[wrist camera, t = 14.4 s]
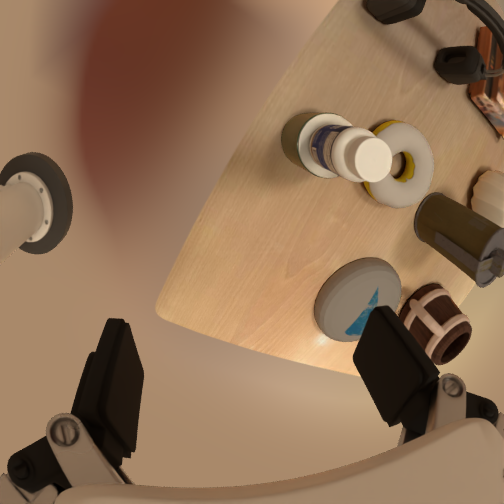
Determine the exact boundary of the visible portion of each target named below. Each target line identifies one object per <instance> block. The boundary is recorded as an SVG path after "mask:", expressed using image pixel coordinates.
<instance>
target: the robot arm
mask: <svg viewBox="0 0 504 504" xmlns="http://www.w3.org/2000/svg"><path fill="white" fill-rule="evenodd" d="M53 215H54V212H53V202H52V198H51V194H50V192H49V190H48V188H47V186H46V184H45V183H44V182H43V180H42V179H41V178H40V177H38V176H37V175H36V174H34V173H31V172H26V171H25V172H20V173H17V174H15V175H13V176H12V177H11V178H10V179H9V180H8V181H7V183H6V185H5V186H2V185H0V265H1V264H2V263H3V262H4V261H5V260H6V259H7V258H8V257H9V256H10V255H11V254H12V253H13V252H14V251H15V250H16V249H18V248H19V247H20V246H21V245H22V244H23V243H24V242H25V241H26V242H35V241H38V240H40V239H42V238H43V237H44V236H45V235H46V234H47V233H48V231H49V229H50V227H51V225H52V221H53ZM353 362H354V364H355V366H356V368H357V370H358V372H359V374H360V375H361V377H362V379H363V381H364V383H365V385H366V387H367V389H368V391H369V392H370V395H371V397H372V399H373V400H374V403H375V405H376V407H377V409H378V411H379V413H380V415H381V417H382V419H383V420H384V421H385V422H387V423H388V425H389V427H391V426H394V425H397V424H399V423H400V422H401V423H402V425H403V428H402V432H401V435H400V439H399V443H398V446H397V447H396V448H394V449H391V450H389V451H386V452H384V453H381V454H379V455H376V456H373V457H370V458H368V459H365V460H362V461H359V462H356V463H353V464H350V465H347V466H343V467H340V468H336V469H333V470H329V471H325V472H321V473H317V474H313V475H308V476H304V477H299V478H294V479H289V480H283V481H277V482H271V483H263V484H255V485H246V486H234V487H213V488H177V487H175V488H174V487H158V486H144V485H135V484H134V483H133V481H132V480H131V479H130V478H129V476H128V475H127V474H126V473H125V471H124V470H123V469H122V468H121V465H122V458H123V457H125V458H131V452H135V450H136V440H137V430H138V419H139V411H140V403H141V395H142V388H143V380H144V370H143V367H142V364H141V361H140V358H139V355H138V352H137V348H136V346H135V342H134V339H133V335H132V332H131V328H130V325H129V323H125V321H124V319H115V318H109V319H108V320H107V322H106V324H105V327H104V330H103V332H102V335H101V338H100V340H99V343H98V346H97V349H96V352H91V353H90V354H89V356H88V358H87V361H86V364H85V367H84V370H83V373H82V376H81V379H80V383H79V386H78V389H77V392H76V396H75V399H74V403H73V407H72V410H71V414H69V413H61V414H58V415H55V416H54V417H53V418H51V420H50V421H49V422H48V424H47V427H46V436H45V437H43V438H41V439H40V440H38V441H36V442H34V443H33V444H31V445H29V446H27V447H26V448H24V449H22V450H20V451H18V452H16V453H14V454H13V455H12V456H11V457H10V459H9V460H8V465H7V468H8V473H7V474H4V473H3V474H2V475H1V476H0V504H504V414H502V413H501V412H500V413H499V414H498V409H497V406H496V405H495V403H493V402H492V401H491V400H489V399H487V398H483V397H481V396H477V395H475V394H472V393H469V392H466V387H465V384H464V382H463V381H462V379H461V378H459V377H458V376H456V375H454V374H450V373H448V374H444V375H442V376H441V378H440V379H439V377H438V375H439V373H440V372H439V370H438V369H437V367H436V366H435V365H434V363H433V362H432V361H431V359H430V358H429V356H428V355H427V354H426V352H425V351H424V350H423V348H422V347H421V346H420V344H419V343H418V342H417V340H416V339H415V338H414V336H413V335H412V334H411V333H410V331H409V330H408V329H407V327H406V326H405V325H404V324H403V322H402V321H401V320H400V319H399V317H398V316H397V315H396V314H395V312H394V311H393V310H392V309H391V307H389V306H388V305H384V306H377V307H375V308H374V309H373V311H371V312H370V314H369V317H368V320H367V322H366V325H365V327H364V330H363V332H362V335H361V337H360V340H359V342H358V345H357V347H356V349H355V352H354V354H353Z"/></svg>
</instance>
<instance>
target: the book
mask: <svg viewBox="0 0 504 504" xmlns="http://www.w3.org/2000/svg"><path fill="white" fill-rule="evenodd" d="M477 50H478V52H479V53H480V54H481V55H482V58H483V59H484V63H485V64H486V69H487V70H497V69H499V68H501V67H502V66H503V65H502V60H503V55H502V53H501V51H500V48H499V45H498V43H497V41H496V39H495V37H494V35H493V34H492V32H491V31H490V30H489V28H488V27H487V26H485V27H481V28H480V33H479V38H478V46H477ZM496 73H499V72H496ZM496 73H488V74H496ZM468 92H469V94H470V95H471V99H472V100H473V101H474V103H475V104H476V105H477V106H478V107H479V108H480V110H481V111H482V112H483V113H484V115H485V116H486V117H487V118H488V119H489V120H490V122H491V123H492V124H493V126H494V127H495V128H496V130H497V131H498V132H499V133H500V135H501V136H502V138H503V139H504V73H503V74H501V75H499V76H496V77H487V80H480V81H478V82H475V83H470V87H469V91H468Z"/></svg>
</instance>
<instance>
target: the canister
mask: <svg viewBox="0 0 504 504" xmlns="http://www.w3.org/2000/svg"><path fill="white" fill-rule="evenodd" d="M415 232H416V235H417V237H418V238H419V239H420V240H421V241H423V242H426V243H427V244H428V245H430V246H431V247H433V248H434V249H435V250H437V251H438V252H439V253H440V254H442V255H443V256H444V257H446V258H447V259H448V260H449V261H451V262H452V263H453V264H455V265H456V266H457V267H458V268H459V269H461V270H462V271H463V272H464V273H466V274H467V275H468V276H469V277H470V278H472V279H473V280H474V281H475V282H476V284H477V285H478V286H479V287H483V288H484V287H486V286H488V285H490V284H491V283H492V282H493V281H494V280H495V279H496V277H499V278H500V277H502V276H503V275H504V228H502V227H500V226H498V225H497V224H495V223H493V222H492V221H490V220H488V219H487V218H485V217H483V216H481V215H480V214H478V213H476V212H474V211H473V210H471V209H469V208H467V207H465V206H463V205H461V204H459V203H457V202H456V201H454V200H452V199H450V198H448V197H446V196H445V195H443V194H442V193H433V194H430V195H429V196H428V197H426V198H425V199H424V201H423V202H422V203H421V205H420V206H419V208H418V211H417V213H416V217H415Z"/></svg>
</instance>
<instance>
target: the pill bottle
mask: <svg viewBox="0 0 504 504" xmlns="http://www.w3.org/2000/svg"><path fill="white" fill-rule="evenodd" d="M309 147H310V153H311V156H312V158H313V160H314V161H315V162H316V163H317V164H318V165H319V166H321V167H322V168H324V169H327V170H329V171H331V172H333V173H335V174H337V175H339V176H341V177H343V178H345V179H347V180H349V181H352V182H363V181H367V182H378V181H380V180H382V179H384V178H385V177H386V176H387V174H388V173H389V171H390V169H391V165H392V154H391V150H390V148H389V146H388V145H387V144H386V143H385V142H384V141H383V140H381V139H379V138H377V137H376V136H375V135H374V134H373V133H372V132H370V131H369V130H367V129H364V128H360V127H353V126H344V125H324V126H322V127H320V128H318V129H317V130H316V131H315V132H314V133H313V135H312V137H311V140H310V146H309Z"/></svg>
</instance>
